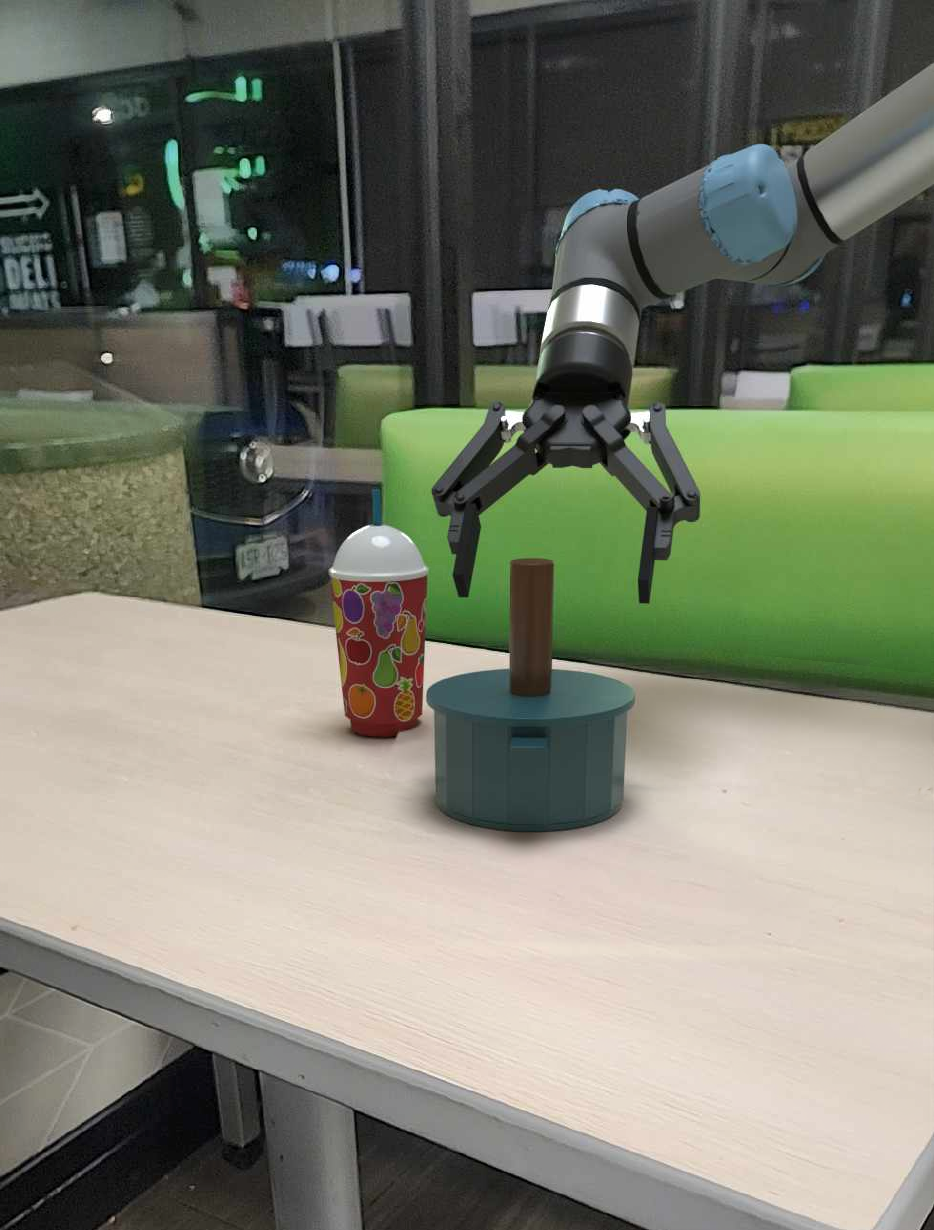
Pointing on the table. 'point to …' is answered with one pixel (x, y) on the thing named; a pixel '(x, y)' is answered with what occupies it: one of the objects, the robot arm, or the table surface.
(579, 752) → the tin
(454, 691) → the lid
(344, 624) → the smoothie
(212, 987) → the table surface
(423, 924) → the table surface
